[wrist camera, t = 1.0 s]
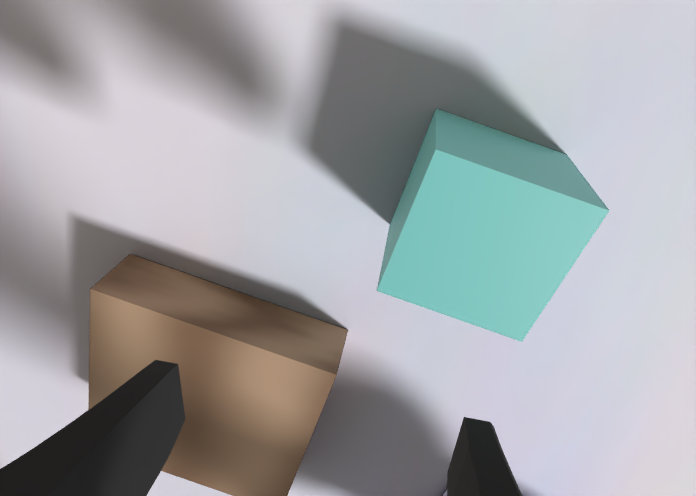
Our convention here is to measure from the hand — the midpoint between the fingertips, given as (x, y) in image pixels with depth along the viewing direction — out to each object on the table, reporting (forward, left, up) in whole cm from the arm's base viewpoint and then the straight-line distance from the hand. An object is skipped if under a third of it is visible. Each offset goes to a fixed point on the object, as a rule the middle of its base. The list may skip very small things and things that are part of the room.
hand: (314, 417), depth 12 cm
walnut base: (+5, +11, -10) cm, 15 cm away
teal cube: (-3, -3, -10) cm, 11 cm away
